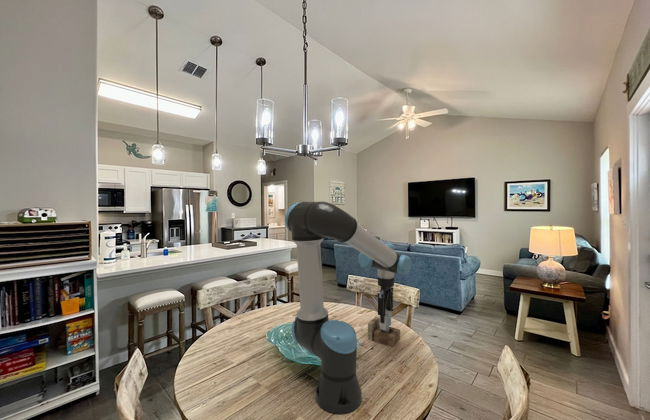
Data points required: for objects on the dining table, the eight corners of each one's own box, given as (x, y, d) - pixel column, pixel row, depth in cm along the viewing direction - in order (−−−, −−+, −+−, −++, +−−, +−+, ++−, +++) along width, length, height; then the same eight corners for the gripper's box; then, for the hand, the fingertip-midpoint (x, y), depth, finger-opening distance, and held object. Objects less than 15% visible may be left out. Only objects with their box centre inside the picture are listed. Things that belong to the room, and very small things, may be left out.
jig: (401, 352, 119) (401, 332, 119) (367, 341, 128) (367, 323, 128) (408, 343, 126) (408, 324, 126) (375, 334, 135) (375, 316, 135)
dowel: (387, 342, 125) (387, 317, 125) (381, 340, 127) (381, 315, 127) (390, 339, 128) (390, 314, 127) (383, 338, 130) (384, 313, 129)
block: (393, 347, 121) (393, 337, 121) (374, 341, 126) (374, 331, 126) (400, 339, 128) (400, 329, 128) (381, 333, 134) (381, 324, 133)
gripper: (385, 282, 118) (385, 336, 118) (400, 274, 133) (400, 322, 133) (369, 280, 122) (369, 332, 122) (385, 271, 137) (385, 318, 137)
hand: (385, 326), depth 128 cm, fingers open, 5 cm apart
